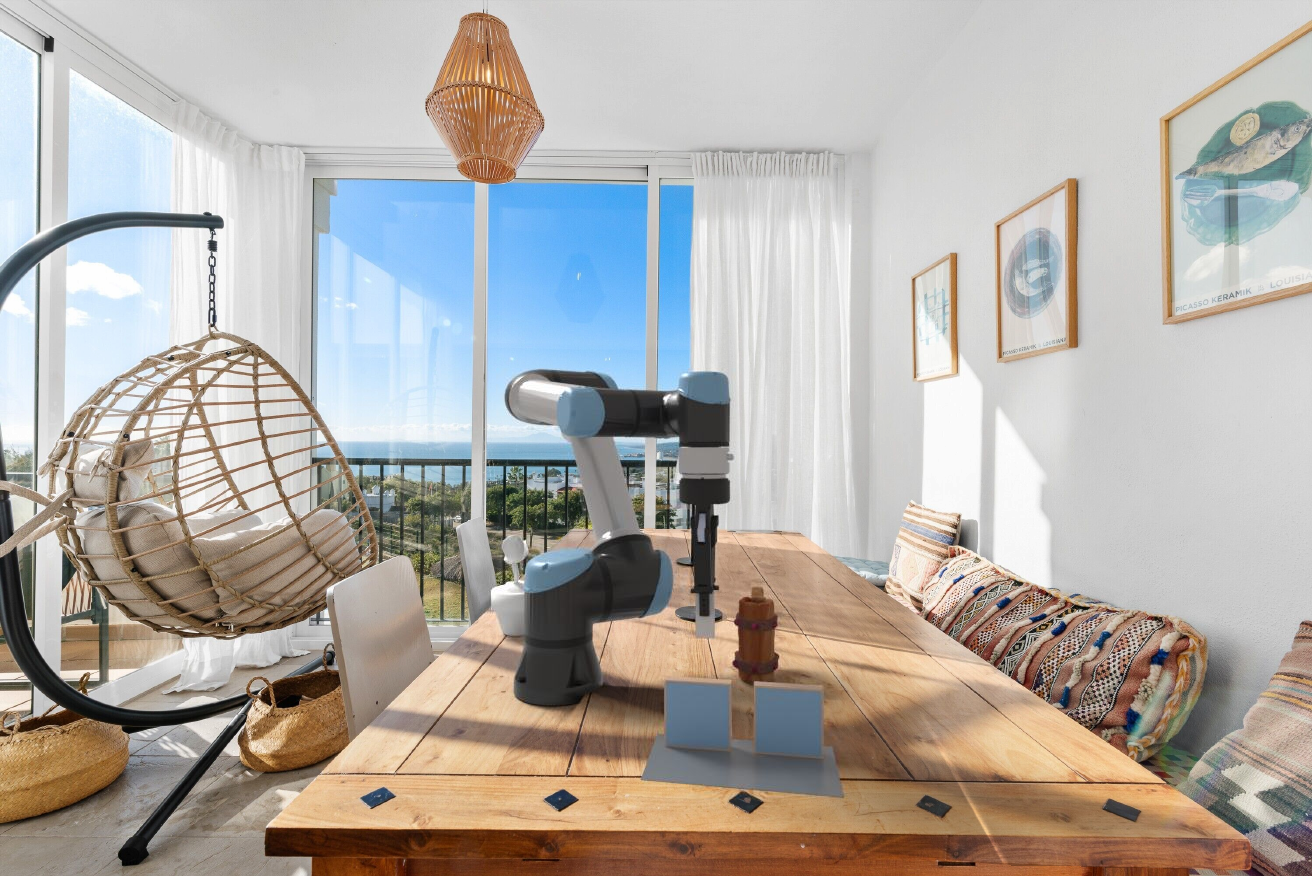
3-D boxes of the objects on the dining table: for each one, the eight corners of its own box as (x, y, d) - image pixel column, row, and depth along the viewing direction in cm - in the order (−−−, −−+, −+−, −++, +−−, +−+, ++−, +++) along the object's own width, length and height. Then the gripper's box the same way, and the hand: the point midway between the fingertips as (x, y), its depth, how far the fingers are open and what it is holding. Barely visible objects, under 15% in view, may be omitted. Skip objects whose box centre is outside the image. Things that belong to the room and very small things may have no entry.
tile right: (753, 753, 88) (753, 685, 88) (754, 748, 90) (754, 681, 90) (823, 759, 86) (823, 689, 86) (822, 753, 88) (822, 685, 88)
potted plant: (534, 642, 141) (534, 523, 141) (482, 639, 143) (482, 522, 143) (552, 625, 153) (553, 517, 154) (504, 623, 155) (504, 516, 155)
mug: (778, 690, 114) (778, 602, 114) (730, 686, 115) (731, 599, 116) (780, 662, 128) (780, 584, 128) (737, 659, 130) (737, 582, 130)
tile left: (664, 746, 90) (664, 680, 90) (665, 741, 91) (666, 675, 92) (730, 752, 88) (731, 684, 88) (731, 746, 90) (731, 679, 90)
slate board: (640, 789, 81) (640, 779, 81) (657, 742, 94) (657, 733, 94) (843, 807, 77) (843, 797, 77) (832, 755, 90) (832, 746, 90)
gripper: (727, 478, 91) (728, 650, 91) (732, 474, 104) (732, 626, 104) (673, 478, 93) (674, 648, 92) (684, 474, 106) (685, 624, 105)
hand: (705, 636), depth 98 cm, fingers closed
